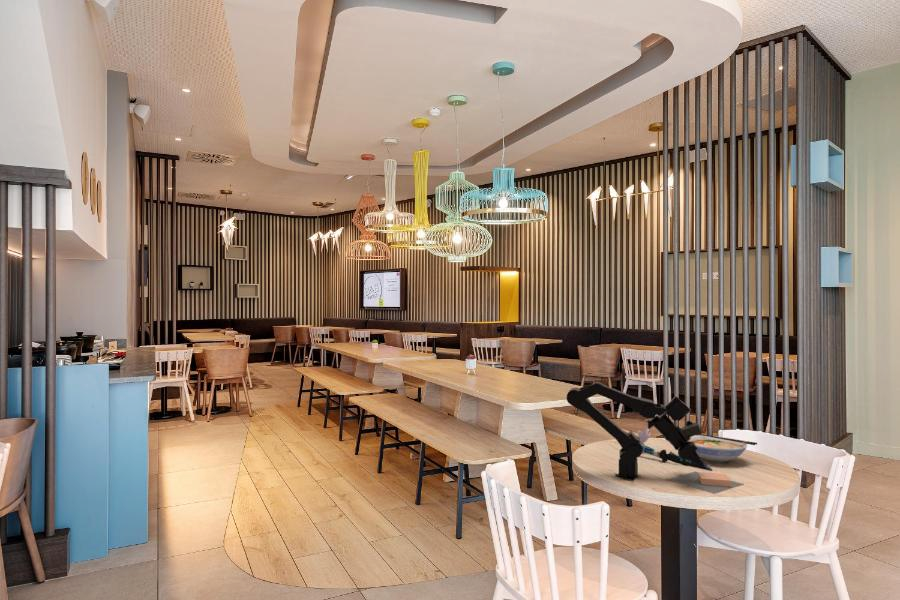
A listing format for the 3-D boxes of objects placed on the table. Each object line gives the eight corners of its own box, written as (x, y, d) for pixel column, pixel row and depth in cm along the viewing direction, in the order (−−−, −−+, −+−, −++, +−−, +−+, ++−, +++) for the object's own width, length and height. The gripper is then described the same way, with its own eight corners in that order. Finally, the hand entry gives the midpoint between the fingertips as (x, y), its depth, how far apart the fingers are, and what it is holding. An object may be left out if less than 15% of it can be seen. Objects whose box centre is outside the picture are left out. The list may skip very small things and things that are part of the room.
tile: (701, 478, 189) (730, 480, 187) (697, 471, 197) (725, 474, 195) (701, 485, 189) (730, 487, 187) (697, 478, 197) (725, 480, 195)
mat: (714, 495, 181) (714, 493, 181) (665, 480, 195) (665, 479, 195) (744, 485, 191) (744, 484, 191) (695, 472, 206) (695, 471, 206)
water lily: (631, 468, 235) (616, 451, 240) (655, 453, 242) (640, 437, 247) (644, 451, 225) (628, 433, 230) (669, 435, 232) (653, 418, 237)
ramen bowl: (669, 458, 226) (669, 437, 227) (699, 449, 240) (699, 430, 241) (732, 472, 207) (732, 449, 207) (761, 462, 221) (761, 441, 221)
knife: (634, 452, 229) (635, 442, 229) (639, 451, 231) (640, 441, 231) (708, 478, 205) (709, 466, 205) (712, 477, 207) (713, 465, 207)
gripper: (690, 419, 186) (726, 456, 183) (683, 409, 204) (716, 443, 201) (664, 441, 188) (700, 478, 185) (659, 430, 206) (692, 463, 203)
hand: (702, 464), depth 193 cm, fingers closed
